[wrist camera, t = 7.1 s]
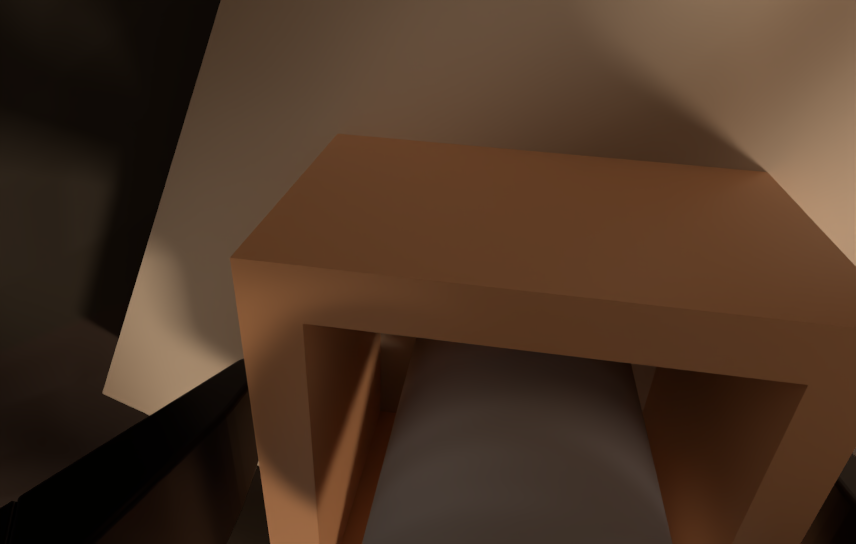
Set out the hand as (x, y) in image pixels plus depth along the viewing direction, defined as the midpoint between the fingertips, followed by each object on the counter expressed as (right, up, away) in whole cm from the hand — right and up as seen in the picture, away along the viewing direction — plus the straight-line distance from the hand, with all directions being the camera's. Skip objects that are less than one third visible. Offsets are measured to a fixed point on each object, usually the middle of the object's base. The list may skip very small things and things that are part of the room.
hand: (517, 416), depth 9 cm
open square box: (0, +1, +2) cm, 2 cm away
